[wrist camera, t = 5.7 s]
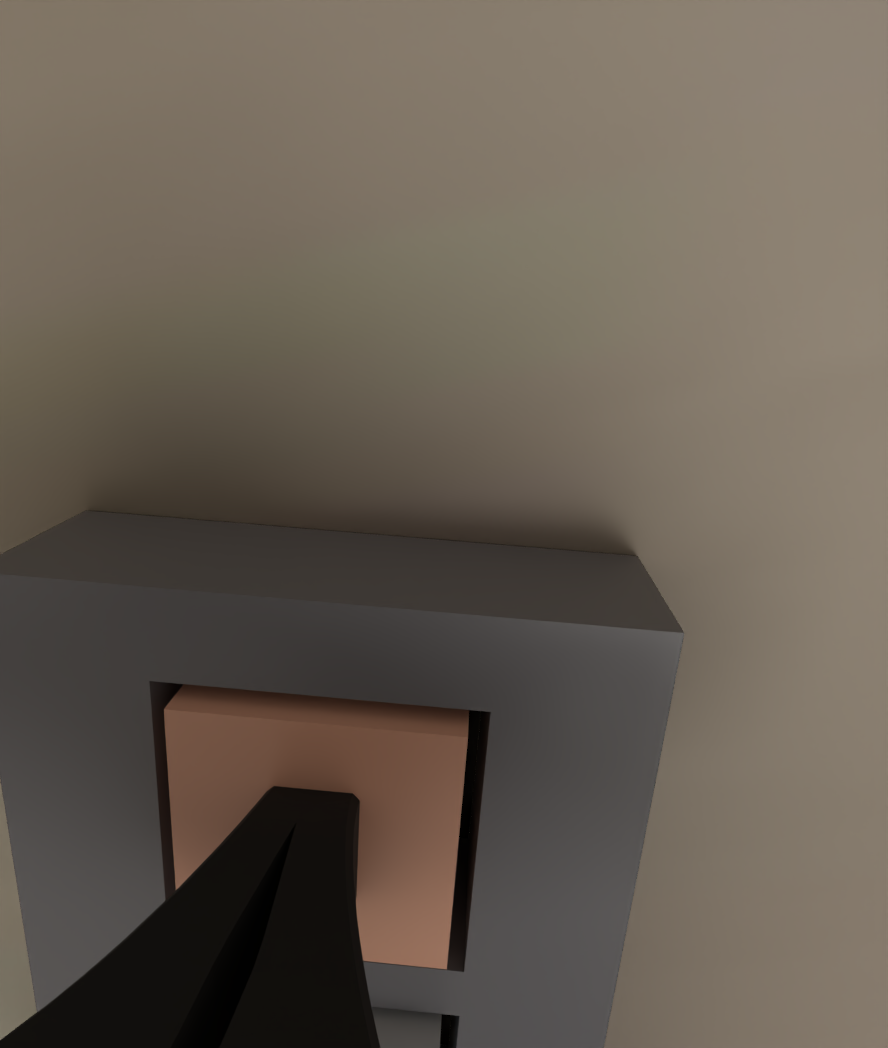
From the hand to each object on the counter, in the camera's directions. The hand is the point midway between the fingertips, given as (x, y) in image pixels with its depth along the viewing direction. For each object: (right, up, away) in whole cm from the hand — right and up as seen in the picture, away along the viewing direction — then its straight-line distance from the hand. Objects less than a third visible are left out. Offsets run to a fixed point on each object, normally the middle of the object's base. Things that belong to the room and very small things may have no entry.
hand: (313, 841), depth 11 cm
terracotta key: (0, +1, +3) cm, 3 cm away
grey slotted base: (0, -5, +5) cm, 7 cm away
